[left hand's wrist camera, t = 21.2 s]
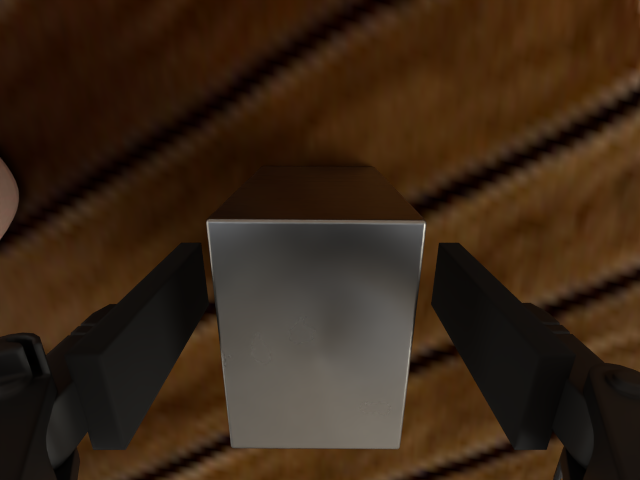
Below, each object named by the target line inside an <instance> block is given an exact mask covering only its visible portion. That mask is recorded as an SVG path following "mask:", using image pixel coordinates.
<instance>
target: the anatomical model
mask: <svg viewBox="0 0 640 480" xmlns="http://www.w3.org/2000/svg"><path fill="white" fill-rule="evenodd" d="M18 202H19V191H18V187H17V184H16V181H15V179H14V177H13V175H12V173H11V172H10V170H9V168H8V167H7V165H6V164H5V163H4V161H3V160H2V159H1V158H0V239H1V238H2V236H3V235H4V233H5V232H6V231H7V229H8V227H9V225H10V224H11V222H12V220H13V218H14V216H15V214H16V211H17V208H18Z"/></svg>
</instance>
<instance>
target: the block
mask: <svg viewBox="0 0 640 480" xmlns="http://www.w3.org/2000/svg"><path fill="white" fill-rule="evenodd" d="M426 224H427V223H426V221H425V220H424V218H423V217H422V216H421V215H420V214H419V213H418V212H417V211H416V210H415V209H414V208H413V207H412V206H411V205H410V204H409V203H408V202H407V201H406V200H405V199H404V198H403V197H402V195H401V194H400V193H399V192H398V191H397V190H396V189H395V188H394V187H393V186H392V185H391V184H390V183H389V182H388V181H387V180H386V179H385V178H384V177H383V176H382V175H381V174H380V172H379V171H378V170H377V169H376V168H375V167H333V166H262V167H261V168H260V169H259V170H258V171H257V172H256V173H255V174H254V175H253V176H252V177H250V178H249V179H248V180H247V181H246V182H245V183H244V184H243V185H242V186H241V187H240V188H239V189H238V190H237V191H236V192H235V193H234V194H233V195H232V196H231V197H230V198H229V199H228V200H227V201H225V202H224V203H223V204H222V205H221V206H220V207H219V208H218V209H217V210H216V211H215V212H214V213H213V214H212V215H211V216H210V217H209V218H208V219H207V221H206V225H207V234H208V243H209V252H210V261H211V270H212V279H213V287H214V296H215V305H216V314H217V323H218V332H219V341H220V350H221V359H222V368H223V377H224V386H225V394H226V403H227V412H228V421H229V430H230V439H231V446H232V448H304V449H399V448H400V441H401V433H402V425H403V416H404V408H405V399H406V391H407V383H408V374H409V366H410V358H411V349H412V341H413V333H414V324H415V316H416V307H417V299H418V291H419V282H420V274H421V266H422V257H423V249H424V240H425V232H426Z"/></svg>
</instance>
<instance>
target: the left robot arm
mask: <svg viewBox="0 0 640 480" xmlns="http://www.w3.org/2000/svg"><path fill="white" fill-rule="evenodd" d="M208 305H209V302H208V294H207V286H206V279H205V271H204V263H203V255H202V247H201V243H181V244H180V245H178V246H177V247H176V248H175V249H174V250H173V251H172V252H171V253H170V254H169V255H168V256H167V257H166V258H165V259H164V260H163V261H162V262H161V263H160V264H159V265H157V266H156V267H155V268H154V269H153V270H152V271H151V272H150V273H149V274H148V275H147V276H146V277H145V278H144V279H143V280H142V281H141V282H140V283H139V284H138V285H136V286H135V287H134V288H133V289H132V290H131V291H130V292H129V293H128V294H127V295H126V296H125V297H124V298H123V299H122V300H121V301H120V302H119V303H118V304H109V305H107V306H106V307H104V308H102V309H100V310H98V311H96V312H95V313H93V314H92V315H91V316H89V317H88V318H87V319H86V320H85V321H84V322H83V323H82V324H81V326H78V327H77V328H76V329H75V330H74V331H73V332H71V335H68V336H67V337H66V338H65V339H64V340H63V341H61V342H60V343H59V344H58V345H57V346H56V347H55V348H54V349H52V350H51V351H50V352H49V353H48V354H47V355H45V352H44V349H43V346H42V343H41V340H40V337H39V336H37V335H35V334H34V333H17V334H10V335H6V336H2V337H0V480H77V479H78V471H79V464H80V459H79V453H78V450H77V445H78V444H79V443H80V441H81V440H82V439H83V437H84V436H85V434H86V433H87V432H88V434H89V437H90V440H91V443H92V447H93V450H126V448H127V446H128V444H129V443H130V441H131V439H132V437H133V436H134V434H135V432H136V431H137V429H138V427H139V425H140V424H141V422H142V420H143V418H144V417H145V415H146V413H147V411H148V410H149V408H150V406H151V404H152V403H153V401H154V399H155V397H156V396H157V394H158V392H159V390H160V389H161V387H162V385H163V383H164V382H165V380H166V378H167V376H168V375H169V373H170V371H171V370H172V368H173V366H174V364H175V363H176V361H177V359H178V357H179V356H180V354H181V352H182V350H183V349H184V347H185V345H186V343H187V342H188V340H189V338H190V336H191V335H192V333H193V331H194V329H195V328H196V326H197V324H198V322H199V321H200V319H201V317H202V315H203V314H204V312H205V310H206V309H207V307H208ZM431 305H432V307H433V309H434V310H435V312H436V314H437V315H438V317H439V319H440V321H441V322H442V324H443V326H444V328H445V329H446V331H447V333H448V335H449V336H450V338H451V340H452V342H453V343H454V345H455V347H456V349H457V350H458V352H459V354H460V356H461V357H462V359H463V361H464V363H465V364H466V366H467V368H468V370H469V371H470V373H471V375H472V376H473V378H474V380H475V382H476V383H477V385H478V387H479V389H480V390H481V392H482V394H483V396H484V397H485V399H486V401H487V403H488V404H489V406H490V408H491V410H492V411H493V413H494V415H495V417H496V418H497V420H498V422H499V424H500V425H501V427H502V429H503V431H504V432H505V434H506V436H507V437H508V439H509V441H510V443H511V444H512V446H513V448H514V450H547V447H548V443H549V440H550V437H551V434H552V431H554V433H555V434H556V435H557V437H558V438H559V439H560V441H561V442H562V444H563V445H564V447H563V450H562V453H561V456H560V459H559V462H558V465H557V468H556V471H555V474H554V478H553V480H561V478H563V480H640V372H638V371H636V370H633V369H630V368H627V367H624V366H621V365H616V364H610V363H604V362H603V361H602V360H601V359H600V358H599V357H597V356H596V355H595V354H594V353H593V352H592V351H591V350H590V349H588V348H587V347H586V346H585V345H584V344H583V343H582V342H581V341H579V340H578V339H577V338H576V337H575V336H574V335H573V334H570V332H569V331H568V330H567V329H566V328H565V327H564V326H562V325H560V324H559V322H558V321H557V320H556V319H555V318H553V317H552V316H551V315H550V314H549V313H548V312H546V311H544V310H542V309H541V308H539V307H537V306H535V305H533V304H531V303H521V302H520V301H519V300H518V299H517V298H516V297H515V296H514V295H513V294H512V293H511V292H510V291H509V290H508V289H507V288H506V287H505V286H504V285H502V284H501V283H500V282H499V281H498V280H497V279H496V278H495V277H494V276H493V275H492V274H491V273H490V272H489V271H488V270H487V269H486V268H485V267H484V266H483V265H481V264H480V263H479V262H478V261H477V260H476V259H475V258H474V257H473V256H472V255H471V254H470V253H469V252H468V251H467V250H466V249H465V248H464V247H463V246H462V245H460V244H459V243H439V247H438V255H437V263H436V271H435V279H434V286H433V294H432V302H431Z"/></svg>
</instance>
